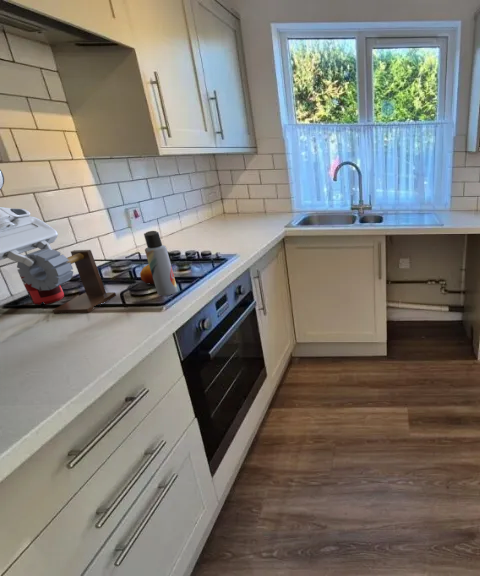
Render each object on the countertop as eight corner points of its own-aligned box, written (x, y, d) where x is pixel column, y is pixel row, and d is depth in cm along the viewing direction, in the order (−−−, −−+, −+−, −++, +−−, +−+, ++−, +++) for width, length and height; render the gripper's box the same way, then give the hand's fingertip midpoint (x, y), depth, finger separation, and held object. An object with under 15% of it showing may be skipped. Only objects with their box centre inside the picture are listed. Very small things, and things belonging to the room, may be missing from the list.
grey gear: (26, 290, 96) (10, 255, 92) (42, 283, 101) (27, 249, 97) (64, 289, 96) (49, 254, 92) (78, 282, 101) (65, 248, 97)
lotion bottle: (179, 288, 119) (163, 228, 112) (176, 294, 115) (159, 233, 107) (159, 291, 118) (142, 230, 110) (156, 297, 113) (137, 235, 105)
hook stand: (53, 313, 104) (31, 262, 98) (85, 296, 115) (67, 249, 109) (88, 312, 104) (68, 262, 98) (116, 295, 115) (100, 249, 109)
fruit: (162, 283, 120) (145, 263, 118) (147, 293, 123) (131, 274, 121) (178, 274, 127) (163, 255, 125) (164, 284, 130) (149, 266, 128)
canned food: (42, 296, 116) (28, 264, 112) (70, 293, 117) (57, 261, 113) (25, 306, 109) (10, 272, 105) (55, 303, 110) (41, 270, 106)
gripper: (-50, 225, 81) (12, 264, 85) (30, 207, 100) (78, 241, 104) (-60, 244, 83) (2, 282, 87) (21, 224, 102) (69, 256, 106)
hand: (44, 259), depth 96 cm, fingers closed on grey gear, 5 cm apart
